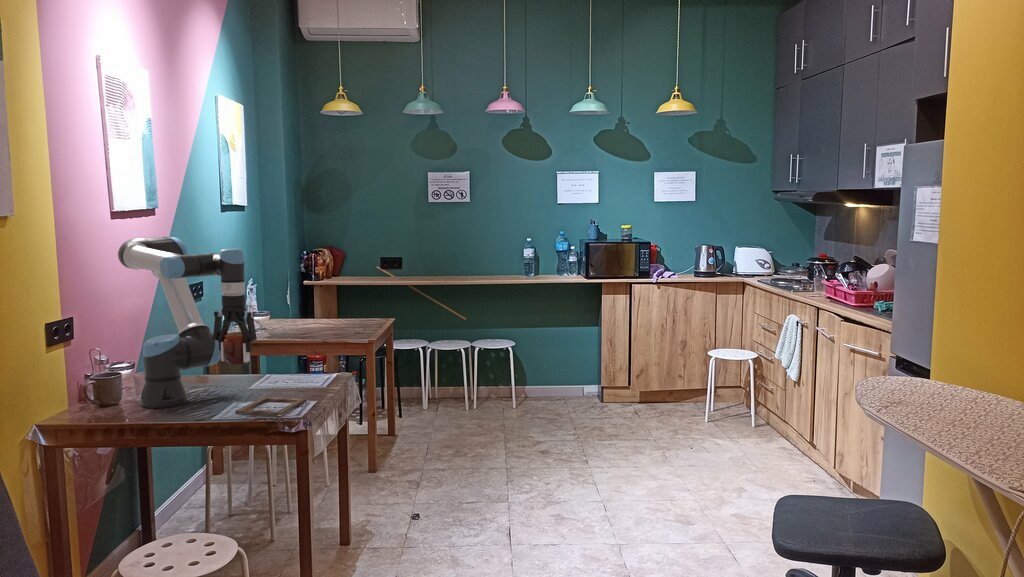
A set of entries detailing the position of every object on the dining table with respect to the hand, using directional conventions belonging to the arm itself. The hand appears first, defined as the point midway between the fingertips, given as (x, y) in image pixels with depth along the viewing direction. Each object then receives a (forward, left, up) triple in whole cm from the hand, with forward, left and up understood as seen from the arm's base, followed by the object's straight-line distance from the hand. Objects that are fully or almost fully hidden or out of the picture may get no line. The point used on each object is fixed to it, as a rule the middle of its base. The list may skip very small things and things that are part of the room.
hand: (235, 360), depth 257 cm
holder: (+12, +1, -16) cm, 20 cm away
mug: (0, 0, -1) cm, 1 cm away
